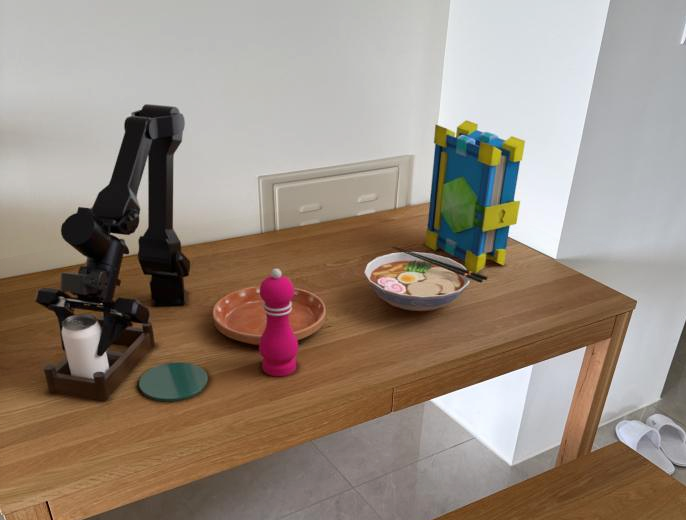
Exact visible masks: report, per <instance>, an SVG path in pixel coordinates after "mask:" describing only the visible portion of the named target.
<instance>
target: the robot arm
mask: <svg viewBox="0 0 686 520" xmlns="http://www.w3.org/2000/svg"><path fill="white" fill-rule="evenodd" d="M123 123H124V124H123V129H124V133H123V137H122V141H121V144H120V147H119V150H118V153H117V157H116V159H115V160H116V161H115V164H114V167H113V171H112V173H111V176H110V181H109V182H108V184H107V185H106V186H105V187H104V188H102V189H101V190H100V191H99V192H98V193H97V196H96V198H95V200H94V202H93V204H92V207H91V208H90V207H85V206H78V207H77V211H76V212H75V213H73V214H71V215H69V216H68V217H67V218H66V219H65V221H63V222H62V224H61V227H60V234H61V237H62V239H63V240H64V242H66V243H67V244H68V245H70V246H71V247H72V248H74V249H75V250H76V251H77V252H78V253H80V254H81V255H82V256H84V257H86V261H85V265H80V267H79V268H78V272H60V287H59V288H60V289H57V288H49V287H41V288H40V289H39V290H37V292H36V295H35V299H34V302H35V303H37V304H39V305H40V306H42V307H44V308H45V309H47V310H49V311H50V312H54V314H55V316H56V318H57V322H58V326H59V332H60V334H59V335H60V341H61V349H62V351H64V352H66V350H65V346H64V342H63V337H62V328H63V326H62V322H63V321H64V320H65V319H66V318H68V317H70V316H73V315H76V314H75V310H84V311H90V312H99V313H102V314H103V315H102V316H104V326H103V330H102V334H101V337H100V341H99V345H98V351H97V355H98V356H102V355H103V354H104V353H105V352H106V350H108V349H109V348H110V347H111V346H112V344H114V343H113V342H114V341H115V339H116V338H117V337H118V336H119V335H120V334H121V333H122V332H123V331H124V330H125V329H126V328H127V327H134V324H133V323H135V324H140V325H142V324H148V322H149V320H150V316H151V315H150V310H149V308H148V307H147V306H145V305H144V304H143V303H141V302H140V301H139V300H138V299H134V298H125V297H117V298H116V299H115V300H114V296H115V293H116V288H117V287H121V283H122V280H121V279H120V278H119V274H120V271H121V267H122V263H123V258H124V255H129V254H130V249H129V247H128V245H127V244H126V240H125V239H124V238H118V237H117V236H115V234H116V235H124V236H130V235H132V234H135V232H136V230H137V229H138V227H139V225H140V214H141V213H140V212H141V206H140V204H139V200H138V191H139V188H140V185H141V182H142V178H143V174H144V172H145V169H146V168H145V167H146V164H147V200H148V201H147V204H148V206H147V209H148V210H147V211H148V212H147V213H148V215H147V216H148V217H147V221H148V222H147V228H146V230H145V232H144V233H143V235H140V236H139V238H138V241H137V242H138V253H137V260H138V263H139V266H140V269H141V270H142V273H143V276H151V277H150V279H149V288H150V295H151V300H153V306H154V307H161V306H167V307H168V306H185V305H186V300H187V299H186V298H187V290H186V289H185V287H186V286H185V279H184V278H186V277H189V276H190V271H191V261H190V259H189V258H188V257H187V256H186V255H185V254H184V252H182V243H181V239H180V238H179V237H178V235H177V232H175V229H174V157H175V153H176V151H177V150H178V148H179V147H180V145H181V144H182V142H183V135H184V134H183V133H184V130H185V125H186V121H185V116H184V114H183V113H181V112H180V109H179V108H178V107H177V106H171V105H159V104H150V103H149V104H148V103H147V104H144V105H143V106H142V108H141V109H138V110H135V111H132V112H131V113H130V116H127V117H126V118H125V120H124V122H123ZM113 234H114V235H113ZM68 292H69V293H70V294H71V295H72V296H70V294H67V293H68ZM74 296H76V297H74Z"/></svg>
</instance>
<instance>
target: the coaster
mask: <svg viewBox="0 0 686 520" xmlns="http://www.w3.org/2000/svg"><path fill="white" fill-rule="evenodd" d="M208 376H209V375H208V374H207V371H205V370H204V369H203V368H202V367H201V366H199V365H196V364H193V363H189V362H168V363H163V364H159V365H157V366H154V367H152V368H150V369H148V370H147V371H145V372H144V373H143V374H142V375H141V376H140V378H139V381H138V386H139V391H140V392H141V394H142V395H144V396H145V397H146V398H148V399H151V400H153V401H159V402H179V401H184V400H188V399H190V398H193V397H195V396H197V395H198V394H200V393H202V392H203V391H204V389H206V388H207V385H208V383H209V382H208V381H209V379H208V378H209V377H208Z"/></svg>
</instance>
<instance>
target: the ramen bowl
mask: <svg viewBox="0 0 686 520" xmlns="http://www.w3.org/2000/svg"><path fill="white" fill-rule="evenodd" d="M391 248H392V249H394V250H395V251H399V252H392V253H387V254H384V255H380V256H377V257H376V258H374V259H373V260H371V261H370V262H368V263H367V265H366V266H365V270H364V275H365V276H366V279H367V281H368V282H369V284H370V286H371V288H372V289H373V291H374V292H375V294H376V295H377V296H378V297H379V298H380V299H382V300H383V301H384V302H386V303H388V304H389V305H391V306H393V307H395V308H399V309H402V310H406V311H411V312H412V311H413V312H425V311H426V312H427V311H433V310H436V309H440V308H443V307H446V306H448V305H449V304H452V302H453V301H455V300H456V299H457V298H458V297H459V296H460V295H461V294H462V293H463V292H464V291H465V290H466V289H467V287H468V286H469V284H470V281H471V280H472V281H475V282H478V283H481V284H482V283H483V282H484V281H488V276H486V275H483V274H480V273H478V272H477V273H474V272H472V271H470V270H468V269H467V268H465V267H464V266H465V265H463V264H461V263H459V262H457V261H455V260H453V259H451V258H449V257H445V256H442V255H438V254H434V253H429V252H428V253H427V252H417V251H410V250H406V249H404V248H401V247H397V246H391ZM483 280H484V281H483Z"/></svg>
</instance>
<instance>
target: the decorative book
mask: <svg viewBox="0 0 686 520" xmlns="http://www.w3.org/2000/svg"><path fill="white" fill-rule="evenodd" d="M525 143H526V140H523V139H521V138H518V137H515V136H510V137H509V138H507V139H506V140H505V139H502V138H500V137H499V136H498V135H497V134H495V133H491V132H489V131H480V130H478V123H475V122H472V121H470V120H466V119H465V120H464V121H463V122H462V123H460V124H459V125H458V126H457V127H456V132H455V131H453V130H451V129H449V128H447V127H445V126H442V125H438V124H435V127H434V137H433V144H435V145H434V152H433V153H434V155H433V165H432V175H431V176H432V177H431V185H430V198H429V208H428V217H427V218H428V219H427V228H426V232H425V242H424V243H425V244H424V245H425V246H426V247H428V248H429V249H431V250H433V251H437V250H438V249H442V250H443V251H444V252H446V253H448V254H449V255H450V256H453V257H455V258H458V259H459V260H461V261H463V262H464V265H463V266H464V267H465V268H466V270H468V271H471V272H474V273H477V274H478V273H479V272H480V271H481V270H482V269H484V268H485V267H486V260H487V259H489V260H491V261H493V262H495V263H496V264H499V265H502V266H505V262H506V256H507V245H508V240H509V233H510V227H511V226H514V225H517V223H518V216H519V210H520V204H521V200H515V195H516V188H517V184H518V177H519V170H520V165H521V161H523V156H524V150H525Z"/></svg>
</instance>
